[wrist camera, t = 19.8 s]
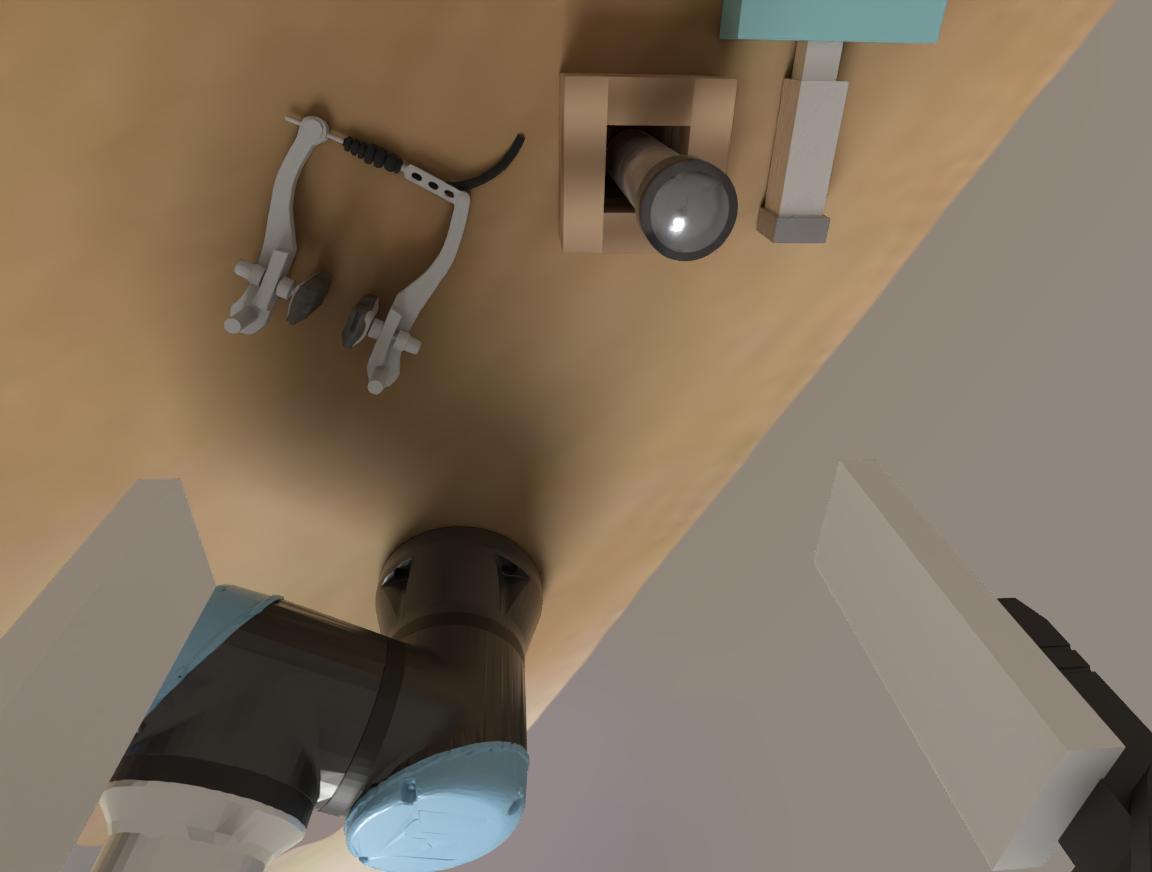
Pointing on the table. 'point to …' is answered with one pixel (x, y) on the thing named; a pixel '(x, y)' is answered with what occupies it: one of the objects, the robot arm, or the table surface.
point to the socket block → (833, 20)
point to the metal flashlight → (673, 195)
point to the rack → (629, 99)
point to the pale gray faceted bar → (804, 146)
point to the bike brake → (309, 295)
